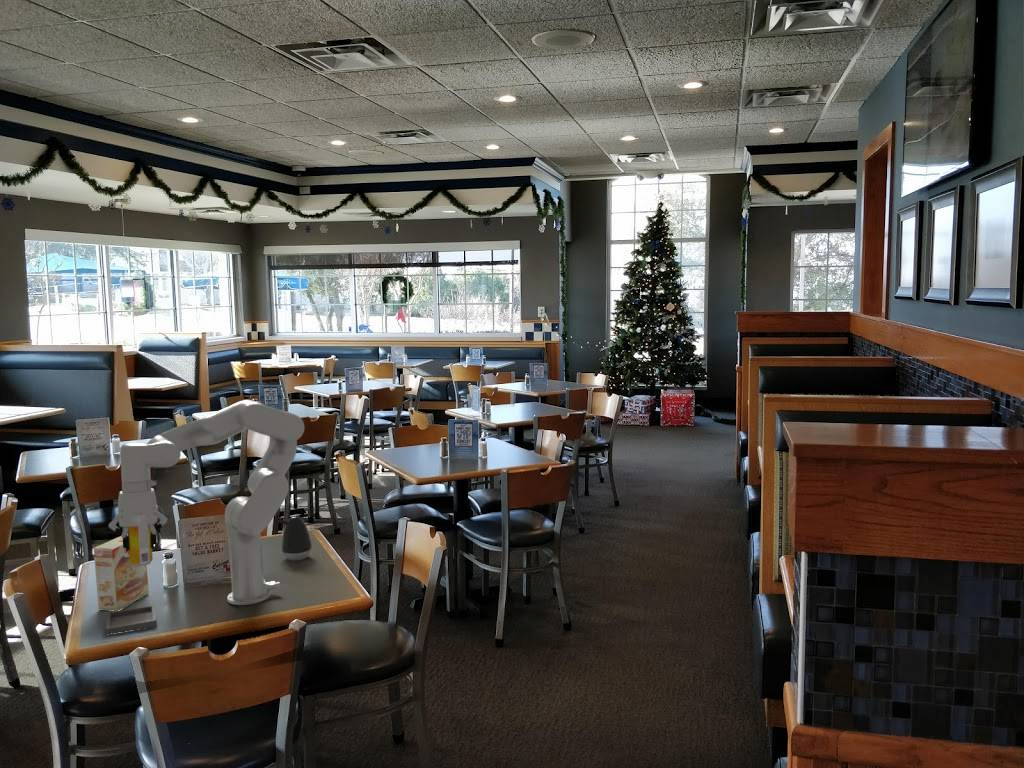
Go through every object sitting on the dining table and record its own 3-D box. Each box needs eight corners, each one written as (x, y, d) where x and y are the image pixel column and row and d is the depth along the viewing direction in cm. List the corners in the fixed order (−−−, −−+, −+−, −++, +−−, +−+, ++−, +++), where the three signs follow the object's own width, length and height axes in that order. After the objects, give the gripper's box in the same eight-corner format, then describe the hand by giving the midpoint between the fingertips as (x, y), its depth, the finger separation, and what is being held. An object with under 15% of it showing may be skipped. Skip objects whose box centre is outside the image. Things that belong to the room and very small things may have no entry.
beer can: (145, 558, 247) (143, 508, 245) (156, 563, 243) (154, 511, 242) (125, 564, 242) (122, 512, 241) (136, 568, 239) (133, 516, 237)
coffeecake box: (118, 612, 253) (112, 549, 251) (97, 610, 255) (91, 547, 253) (150, 593, 268) (145, 533, 265) (130, 592, 270) (125, 532, 267)
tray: (155, 611, 254) (155, 604, 253) (156, 626, 242) (156, 620, 241) (107, 619, 248) (106, 612, 248) (106, 635, 237) (105, 629, 236)
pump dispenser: (282, 555, 302) (280, 513, 300) (312, 552, 304) (310, 511, 302) (280, 564, 292) (277, 521, 290) (311, 562, 294) (309, 519, 292)
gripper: (168, 480, 247) (171, 541, 249) (102, 486, 240) (106, 549, 242) (170, 486, 241) (173, 548, 243) (102, 492, 233) (106, 556, 235)
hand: (139, 547), depth 242 cm, fingers closed on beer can, 5 cm apart
